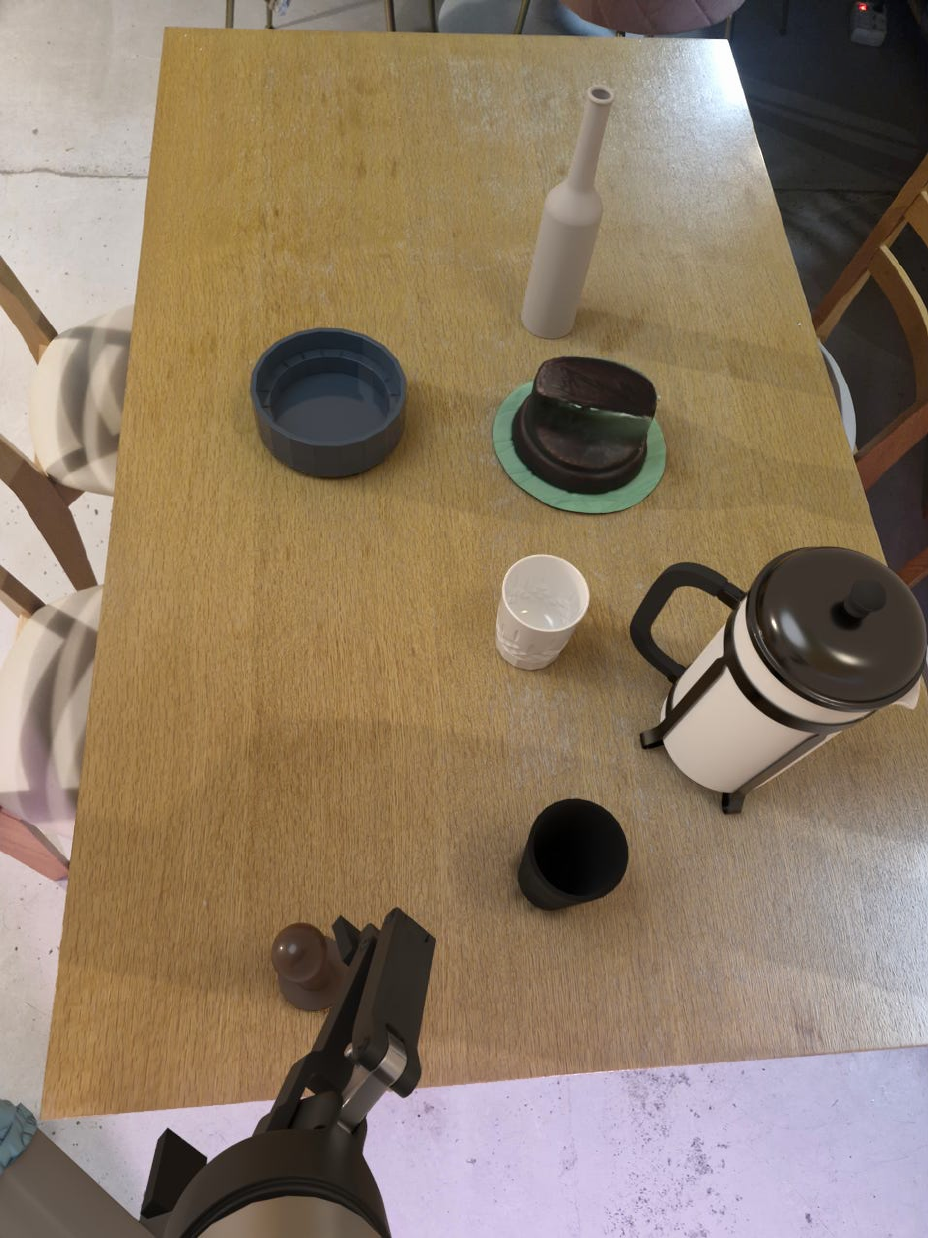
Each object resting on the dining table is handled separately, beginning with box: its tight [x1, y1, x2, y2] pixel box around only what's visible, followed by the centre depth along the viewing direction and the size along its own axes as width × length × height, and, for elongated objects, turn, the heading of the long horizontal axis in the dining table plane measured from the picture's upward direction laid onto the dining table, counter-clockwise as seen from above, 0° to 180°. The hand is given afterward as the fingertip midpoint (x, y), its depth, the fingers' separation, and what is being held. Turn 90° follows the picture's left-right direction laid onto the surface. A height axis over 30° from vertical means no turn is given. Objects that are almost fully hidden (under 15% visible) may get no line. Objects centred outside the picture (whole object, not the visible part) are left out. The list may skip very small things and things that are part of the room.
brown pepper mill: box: [270, 922, 349, 1012], centre depth 61 cm, size 6×6×18 cm
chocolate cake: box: [492, 355, 667, 514], centre depth 94 cm, size 15×19×20 cm
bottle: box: [520, 84, 617, 340], centre depth 93 cm, size 7×7×28 cm
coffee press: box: [629, 545, 928, 816], centre depth 69 cm, size 17×16×30 cm
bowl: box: [249, 326, 407, 478], centre depth 92 cm, size 16×16×6 cm
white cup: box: [494, 553, 590, 672], centre depth 80 cm, size 8×8×10 cm
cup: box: [517, 797, 630, 912], centre depth 69 cm, size 8×8×12 cm
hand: (271, 1038), depth 46 cm, fingers open, 13 cm apart
